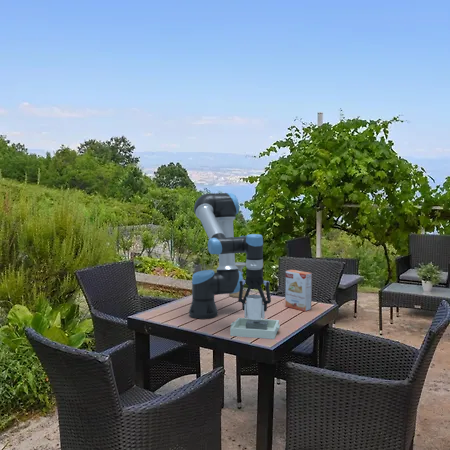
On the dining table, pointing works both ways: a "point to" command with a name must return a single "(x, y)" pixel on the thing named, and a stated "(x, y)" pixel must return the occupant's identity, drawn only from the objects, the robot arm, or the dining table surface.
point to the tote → (241, 331)
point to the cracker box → (298, 290)
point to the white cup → (254, 307)
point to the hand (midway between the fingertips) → (254, 317)
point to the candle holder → (240, 267)
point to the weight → (257, 325)
